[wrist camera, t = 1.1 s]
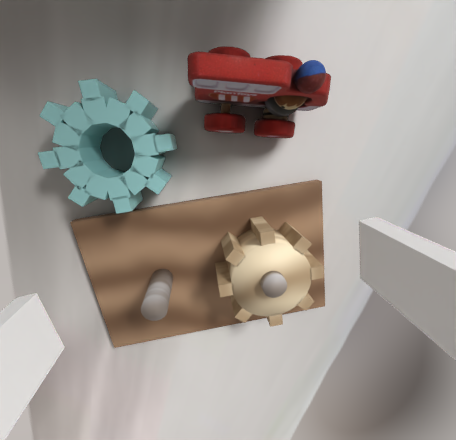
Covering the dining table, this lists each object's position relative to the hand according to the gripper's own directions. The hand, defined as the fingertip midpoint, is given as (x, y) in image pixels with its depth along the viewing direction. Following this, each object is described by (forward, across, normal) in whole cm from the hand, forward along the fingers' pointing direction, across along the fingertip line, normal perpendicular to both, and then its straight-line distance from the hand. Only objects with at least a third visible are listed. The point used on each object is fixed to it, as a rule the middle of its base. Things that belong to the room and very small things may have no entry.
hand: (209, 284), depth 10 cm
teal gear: (+19, -7, +6) cm, 22 cm away
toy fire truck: (+20, +7, +8) cm, 23 cm away
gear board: (+19, -1, -9) cm, 21 cm away
